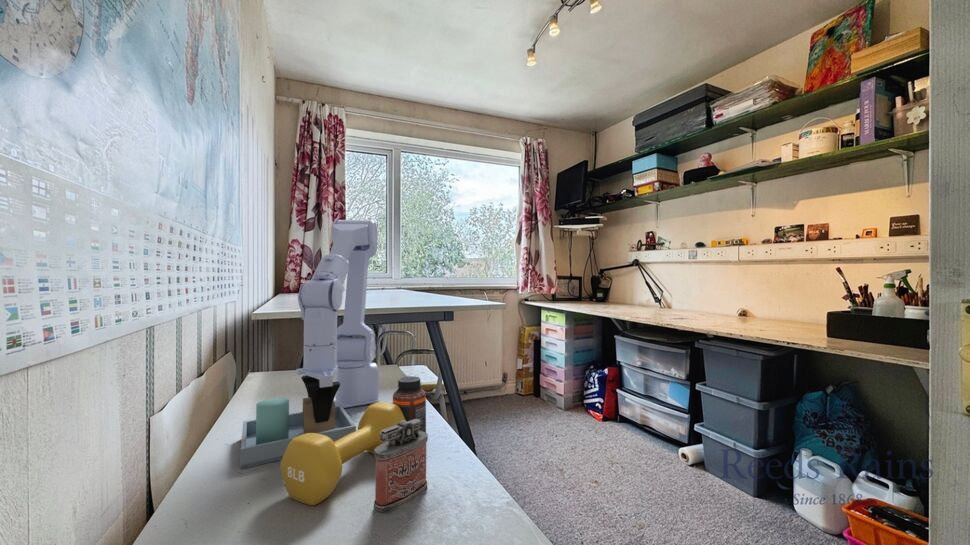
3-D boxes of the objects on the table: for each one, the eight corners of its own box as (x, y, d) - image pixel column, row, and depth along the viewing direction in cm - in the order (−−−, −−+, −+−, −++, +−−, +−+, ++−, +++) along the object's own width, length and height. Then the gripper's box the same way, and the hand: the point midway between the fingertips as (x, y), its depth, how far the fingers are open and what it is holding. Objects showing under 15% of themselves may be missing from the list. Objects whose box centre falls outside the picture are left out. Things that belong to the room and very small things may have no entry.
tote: (341, 419, 77) (341, 405, 77) (355, 443, 66) (355, 426, 66) (242, 438, 68) (243, 421, 68) (240, 469, 57) (240, 449, 57)
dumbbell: (372, 442, 66) (372, 396, 67) (413, 452, 62) (413, 404, 63) (272, 498, 49) (273, 436, 49) (319, 517, 45) (320, 450, 46)
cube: (302, 424, 69) (302, 398, 69) (330, 419, 72) (331, 394, 72) (304, 434, 65) (304, 406, 65) (334, 429, 68) (334, 401, 68)
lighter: (416, 480, 53) (417, 411, 54) (432, 489, 51) (433, 417, 51) (368, 507, 47) (368, 428, 47) (383, 518, 45) (384, 435, 45)
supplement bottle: (429, 435, 69) (430, 374, 69) (421, 449, 63) (421, 383, 63) (398, 434, 70) (399, 374, 70) (387, 448, 64) (387, 382, 64)
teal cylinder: (259, 438, 66) (260, 399, 66) (290, 434, 68) (291, 396, 68) (252, 451, 61) (253, 408, 61) (286, 446, 63) (286, 405, 63)
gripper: (293, 340, 73) (292, 409, 73) (300, 352, 61) (299, 435, 60) (331, 337, 77) (330, 402, 76) (345, 348, 64) (344, 426, 64)
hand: (319, 416), depth 69 cm, fingers closed on cube, 5 cm apart
